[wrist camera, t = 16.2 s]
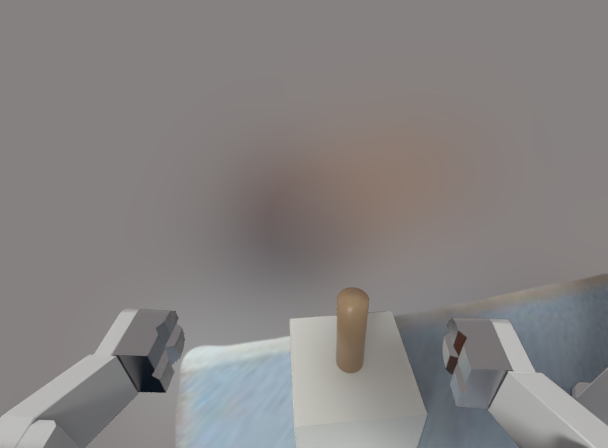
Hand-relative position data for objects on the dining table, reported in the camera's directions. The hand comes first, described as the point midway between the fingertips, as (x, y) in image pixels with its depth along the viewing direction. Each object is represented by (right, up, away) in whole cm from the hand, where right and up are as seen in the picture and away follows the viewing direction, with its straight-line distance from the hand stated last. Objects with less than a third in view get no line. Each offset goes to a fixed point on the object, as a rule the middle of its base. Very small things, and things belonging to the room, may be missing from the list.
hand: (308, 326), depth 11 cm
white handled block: (+5, -21, +35) cm, 42 cm away
